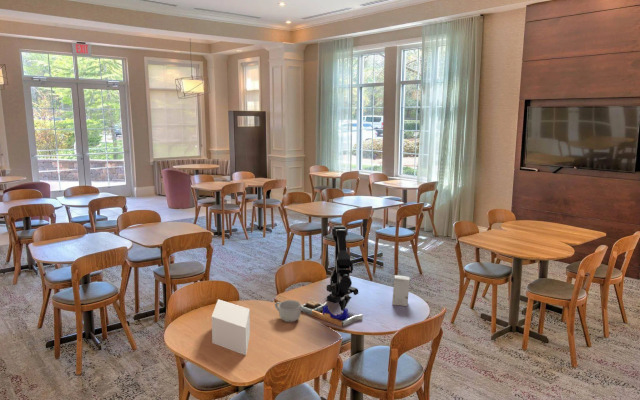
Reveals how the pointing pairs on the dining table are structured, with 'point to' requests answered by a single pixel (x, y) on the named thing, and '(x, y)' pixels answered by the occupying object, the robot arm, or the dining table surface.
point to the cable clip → (339, 316)
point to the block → (231, 326)
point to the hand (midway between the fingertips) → (342, 310)
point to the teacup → (289, 310)
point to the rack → (315, 308)
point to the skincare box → (400, 290)
